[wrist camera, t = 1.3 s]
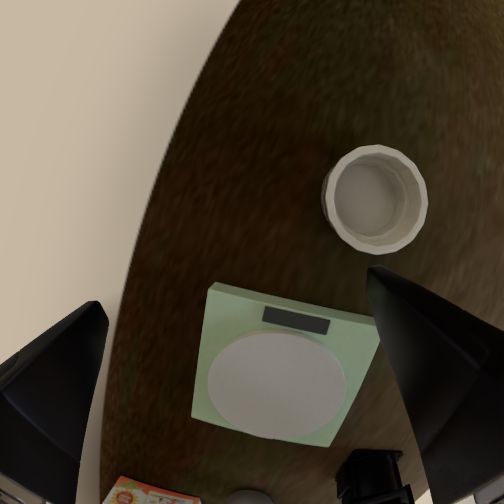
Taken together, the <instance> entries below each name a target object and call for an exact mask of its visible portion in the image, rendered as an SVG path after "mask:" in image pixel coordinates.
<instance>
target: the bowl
mask: <svg viewBox="0 0 504 504" xmlns="http://www.w3.org/2000/svg"><path fill="white" fill-rule="evenodd" d="M320 199H321V204H322V210H323V214H324V216H325V218H326V220H327V221H328V223H329V224H330V226H331V228H332V229H333V230H334V231H335V232H336V233H337V234H338V236H339V237H340V238H341V239H343V240H344V241H345V242H347V243H348V244H349V245H351V246H352V247H354V248H355V249H356V250H358V251H362V252H366V253H370V254H375V255H380V254H386V253H391V252H396V251H398V250H399V249H401V248H402V247H404V246H405V245H407V244H408V243H410V242H411V241H412V240H413V239H414V238H415V236H416V235H417V233H418V232H419V230H420V229H421V227H422V226H423V224H424V221H425V216H426V211H427V207H428V199H427V192H426V186H425V183H424V180H423V178H422V176H421V174H420V172H419V171H418V169H417V167H416V165H415V164H414V163H413V162H412V161H411V160H409V159H408V158H407V157H406V156H405V155H403V154H402V153H401V152H400V151H398V150H395V149H392V148H389V147H385V146H382V145H371V146H363V147H359V148H356V149H355V150H353V151H352V152H350V153H348V154H347V155H345V156H344V157H342V158H341V159H340V160H339V161H338V162H337V163H336V164H335V165H334V166H333V167H332V168H331V170H330V171H329V173H328V174H327V176H326V177H325V179H324V181H323V186H322V191H321V198H320Z"/></svg>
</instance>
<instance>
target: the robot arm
mask: <svg viewBox="0 0 504 504" xmlns="http://www.w3.org/2000/svg"><path fill="white" fill-rule="evenodd" d="M366 292H367V297H368V300H369V304H370V307H371V311H372V314H373V317H374V321H375V325H376V328H377V332H378V335H379V338H380V340H381V343H382V345H383V348H384V350H385V353H386V355H387V358H388V361H389V363H390V366H391V368H392V371H393V374H394V376H395V379H396V382H397V384H398V387H399V390H400V393H401V396H402V398H403V401H404V404H405V407H406V410H407V413H408V416H409V419H410V422H411V425H412V428H413V431H414V434H415V438H416V441H417V444H418V448H419V451H420V452H421V453H420V455H421V458H422V462H423V466H424V469H425V473H426V477H427V481H428V485H429V489H430V493H431V497H432V501H433V504H455V503H457V502H459V501H461V500H463V499H465V498H467V497H469V496H471V495H474V499H475V503H476V504H504V331H502V330H500V329H498V328H496V327H494V326H492V325H490V324H488V323H486V322H485V321H483V320H481V319H479V318H477V317H476V316H474V315H472V314H470V313H469V312H467V311H465V310H462V309H461V308H460V307H458V306H456V305H454V304H453V303H451V302H449V301H447V300H446V299H444V298H442V297H440V296H438V295H436V294H435V293H433V292H431V291H429V290H427V289H426V288H424V287H422V286H420V285H418V284H416V283H414V282H413V281H411V280H409V279H407V278H405V277H403V276H401V275H399V274H397V273H396V272H394V271H392V270H390V269H388V268H386V267H384V266H382V265H376V266H370V267H369V268H368V271H367V286H366ZM108 327H109V320H108V317H107V315H106V313H105V311H104V310H103V308H102V306H101V304H100V302H98V301H88V302H86V303H85V304H83V305H82V306H81V307H79V308H78V309H76V310H75V311H74V312H72V313H71V314H69V315H68V316H66V317H65V318H63V319H62V320H61V321H59V322H58V323H56V324H55V325H54V326H52V327H51V328H49V329H48V330H47V331H45V332H44V333H42V334H41V335H40V336H38V337H37V338H36V339H34V340H33V341H32V342H30V343H29V344H28V345H26V346H25V347H23V348H22V349H21V350H20V351H18V352H17V353H15V354H14V355H13V356H11V357H10V358H9V359H7V360H6V361H5V362H3V363H2V364H1V365H0V504H46V502H49V503H51V504H75V502H76V492H77V484H78V476H79V468H80V460H81V454H82V448H83V442H84V437H85V432H86V427H87V422H88V417H89V412H90V408H91V403H92V399H93V395H94V390H95V386H96V382H97V378H98V375H99V371H100V367H101V363H102V359H103V354H104V348H105V343H106V337H107V332H108ZM402 456H403V452H402V451H382V450H361V449H357V450H354V451H353V452H352V454H351V455H350V457H349V458H348V460H347V461H346V462H345V463H344V464H343V465H342V467H341V468H340V470H339V471H338V473H337V474H336V477H335V481H336V482H337V498H338V499H339V500H341V501H342V504H415V502H414V498H413V494H412V491H411V487H410V484H408V485H405V486H404V487H403V486H402V481H401V477H400V473H399V469H398V465H397V462H398V461H399V460H400V458H401V457H402Z"/></svg>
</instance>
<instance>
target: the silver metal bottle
mask: <svg viewBox="0 0 504 504" xmlns="http://www.w3.org/2000/svg"><path fill="white" fill-rule="evenodd" d="M225 504H273V502H272V501H271V499H270V498H269V497H268V496H267V495H266V494H264V493H261V492H258V491H254V490H239V491H236V492H234V493H233V494H231V495H230V496H229V498H228V499H227V501H226V503H225Z"/></svg>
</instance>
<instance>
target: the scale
mask: <svg viewBox="0 0 504 504" xmlns="http://www.w3.org/2000/svg"><path fill="white" fill-rule="evenodd" d="M379 341H380V338H379V335H378V332H377V328H376V325H375V321H374V317H370V316H364V315H359V314H355V313H350V312H345V311H340V310H335V309H330V308H326V307H321V306H316V305H312V304H307V303H303V302H298V301H294V300H289V299H285V298H281V297H276V296H272V295H268V294H263V293H259V292H255V291H251V290H246V289H242V288H238V287H234V286H230V285H226V284H222V283H218V282H215V283H214V284H213V285H212V286H211V287H210V288H209V289H208V294H207V301H206V308H205V314H204V321H203V328H202V335H201V342H200V350H199V357H198V365H197V372H196V380H195V388H194V397H193V405H192V414H191V417H193V418H196V419H199V420H202V421H205V422H209V423H212V424H216V425H219V426H223V427H226V428H230V429H234V430H238V431H242V432H246V433H249V434H251V435H254V436H258V437H263V438H269V439H278V440H283V441H289V442H295V443H301V444H308V445H315V446H322V447H329V446H330V444H331V442H332V441H333V439H334V437H335V435H336V434H337V432H338V430H339V428H340V426H341V424H342V422H343V420H344V419H345V417H346V415H347V413H348V411H349V409H350V407H351V405H352V403H353V401H354V399H355V397H356V395H357V392H358V390H359V388H360V386H361V384H362V382H363V379H364V377H365V375H366V373H367V370H368V368H369V366H370V363H371V361H372V359H373V356H374V354H375V351H376V349H377V347H378V344H379Z"/></svg>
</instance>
